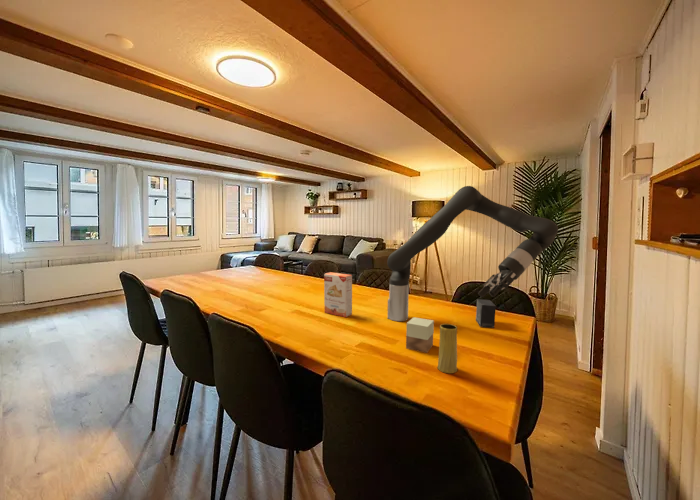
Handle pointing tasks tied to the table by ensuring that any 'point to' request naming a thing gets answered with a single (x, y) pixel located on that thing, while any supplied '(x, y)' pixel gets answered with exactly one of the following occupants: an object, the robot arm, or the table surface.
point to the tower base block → (419, 344)
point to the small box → (485, 313)
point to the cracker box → (338, 294)
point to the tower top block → (420, 328)
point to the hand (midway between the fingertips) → (485, 295)
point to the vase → (448, 348)
